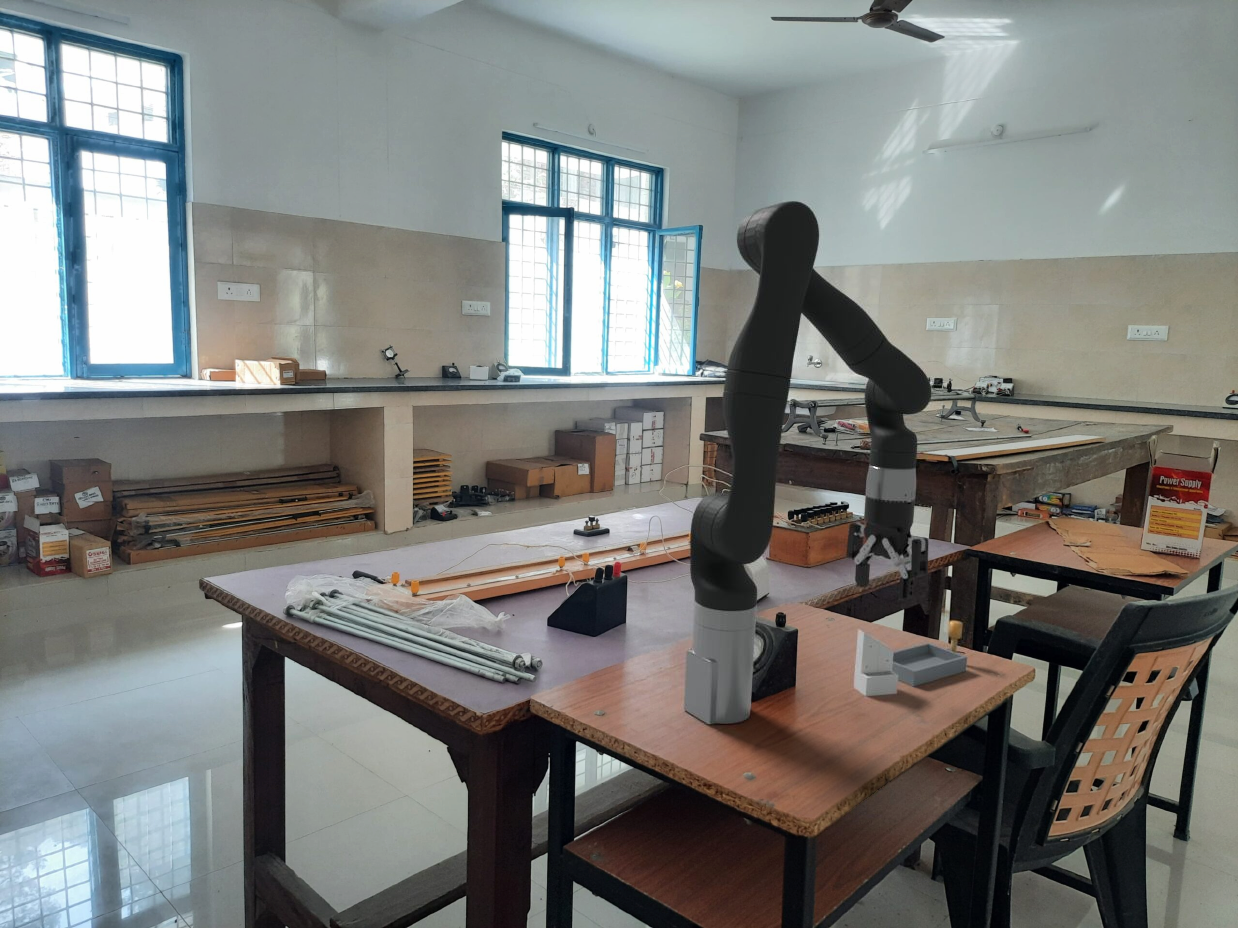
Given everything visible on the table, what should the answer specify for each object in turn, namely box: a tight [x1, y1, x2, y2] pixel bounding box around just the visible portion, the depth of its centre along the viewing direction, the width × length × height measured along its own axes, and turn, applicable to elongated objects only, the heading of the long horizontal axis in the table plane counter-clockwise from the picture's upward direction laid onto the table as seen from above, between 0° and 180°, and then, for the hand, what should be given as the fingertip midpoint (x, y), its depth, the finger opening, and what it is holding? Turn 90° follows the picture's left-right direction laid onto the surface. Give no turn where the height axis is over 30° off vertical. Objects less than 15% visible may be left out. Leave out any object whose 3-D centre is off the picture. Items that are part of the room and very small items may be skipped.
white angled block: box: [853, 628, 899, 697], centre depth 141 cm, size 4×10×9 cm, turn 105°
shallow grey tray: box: [892, 620, 968, 687], centre depth 151 cm, size 17×8×7 cm, turn 123°
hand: (883, 593), depth 139 cm, fingers open, 8 cm apart
